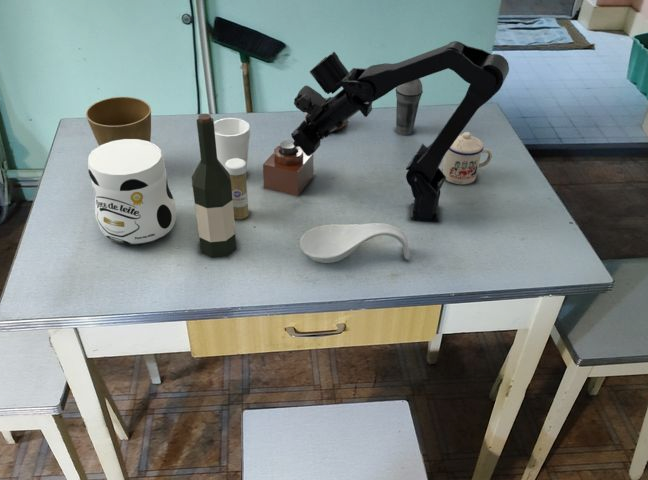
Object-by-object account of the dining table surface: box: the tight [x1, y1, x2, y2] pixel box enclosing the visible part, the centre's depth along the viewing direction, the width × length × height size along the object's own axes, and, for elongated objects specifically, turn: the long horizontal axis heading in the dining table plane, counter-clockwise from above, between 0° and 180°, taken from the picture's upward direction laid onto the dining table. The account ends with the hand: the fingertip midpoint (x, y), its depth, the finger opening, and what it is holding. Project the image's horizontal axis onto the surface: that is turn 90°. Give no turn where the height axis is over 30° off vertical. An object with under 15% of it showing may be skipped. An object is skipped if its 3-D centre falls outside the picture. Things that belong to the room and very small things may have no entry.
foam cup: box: [214, 117, 251, 173], centre depth 164 cm, size 10×9×13 cm
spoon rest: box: [299, 222, 411, 264], centre depth 143 cm, size 24×12×7 cm, turn 93°
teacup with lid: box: [442, 131, 493, 185], centre depth 167 cm, size 12×9×12 cm
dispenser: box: [262, 145, 314, 197], centre depth 164 cm, size 9×10×8 cm
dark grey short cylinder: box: [279, 140, 297, 156], centre depth 160 cm, size 4×4×2 cm
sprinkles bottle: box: [225, 158, 250, 220], centre depth 151 cm, size 5×5×14 cm
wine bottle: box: [191, 113, 238, 259], centre depth 136 cm, size 8×8×30 cm
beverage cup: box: [395, 78, 424, 136], centre depth 180 cm, size 7×7×20 cm
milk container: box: [87, 139, 177, 246], centre depth 145 cm, size 17×17×18 cm
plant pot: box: [85, 96, 152, 147], centre depth 163 cm, size 15×15×16 cm
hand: (294, 144), depth 159 cm, fingers closed, pressing on dark grey short cylinder
